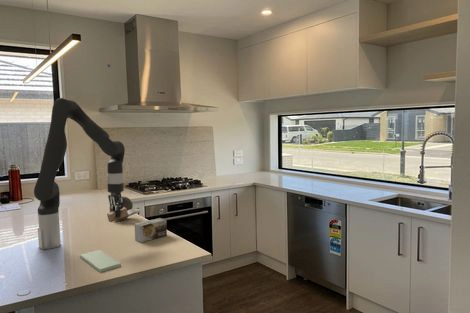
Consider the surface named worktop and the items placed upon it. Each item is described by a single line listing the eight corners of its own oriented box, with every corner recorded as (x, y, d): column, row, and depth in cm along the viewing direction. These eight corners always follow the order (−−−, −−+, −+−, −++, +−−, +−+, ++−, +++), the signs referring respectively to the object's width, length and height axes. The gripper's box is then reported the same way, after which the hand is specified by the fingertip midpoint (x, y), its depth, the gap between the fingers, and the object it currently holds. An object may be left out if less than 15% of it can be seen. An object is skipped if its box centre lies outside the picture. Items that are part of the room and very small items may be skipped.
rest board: (99, 272, 144) (99, 269, 144) (80, 257, 161) (80, 254, 161) (120, 266, 150) (120, 263, 150) (99, 252, 167) (99, 249, 167)
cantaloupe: (133, 221, 220) (132, 198, 219) (109, 223, 216) (108, 199, 215) (133, 216, 234) (132, 193, 232) (110, 217, 230) (109, 195, 228)
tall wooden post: (112, 223, 168) (110, 215, 167) (107, 220, 172) (105, 213, 171) (140, 211, 178) (138, 204, 177) (134, 209, 182) (133, 202, 181)
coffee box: (134, 240, 184) (160, 233, 195) (141, 242, 179) (167, 235, 191) (134, 223, 183) (160, 217, 195) (140, 225, 179) (166, 219, 190)
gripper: (102, 181, 173) (103, 215, 175) (114, 184, 163) (115, 220, 164) (116, 179, 178) (117, 212, 180) (129, 182, 168) (130, 218, 170)
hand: (116, 216), depth 172 cm, fingers closed on tall wooden post, 3 cm apart
